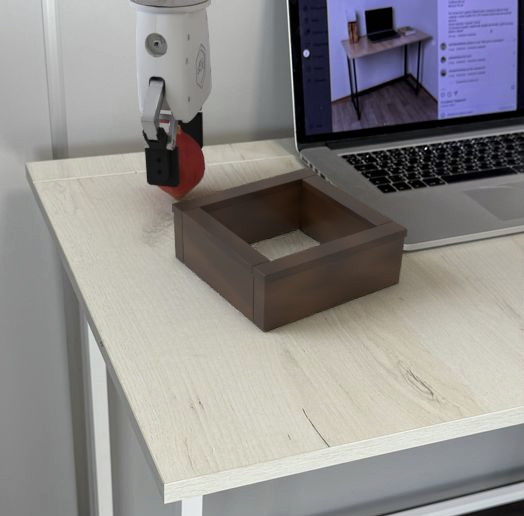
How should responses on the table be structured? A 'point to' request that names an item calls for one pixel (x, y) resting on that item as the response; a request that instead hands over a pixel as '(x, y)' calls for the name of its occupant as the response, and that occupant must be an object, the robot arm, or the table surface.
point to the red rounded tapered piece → (187, 165)
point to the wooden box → (294, 265)
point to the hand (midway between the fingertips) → (176, 165)
